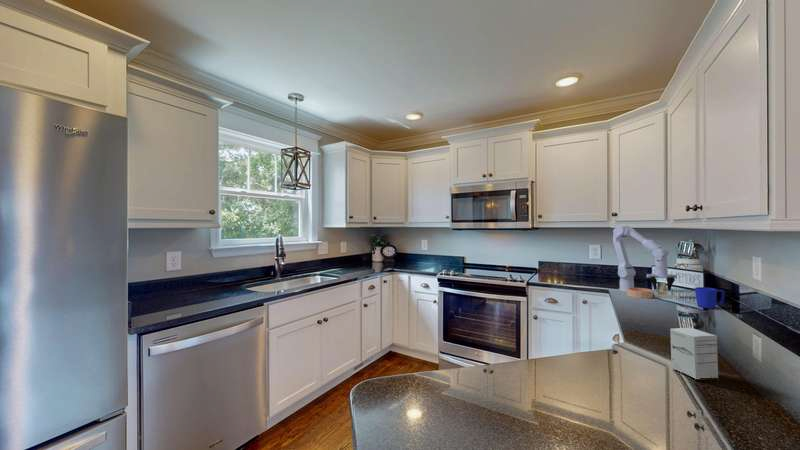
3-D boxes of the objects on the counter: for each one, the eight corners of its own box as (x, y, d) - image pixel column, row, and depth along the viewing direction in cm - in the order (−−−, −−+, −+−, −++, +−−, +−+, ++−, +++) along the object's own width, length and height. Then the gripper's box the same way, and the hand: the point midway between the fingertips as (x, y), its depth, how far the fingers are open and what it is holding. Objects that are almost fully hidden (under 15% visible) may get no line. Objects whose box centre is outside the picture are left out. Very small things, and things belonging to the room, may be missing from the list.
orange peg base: (624, 294, 196) (624, 287, 196) (648, 295, 191) (648, 288, 191) (631, 298, 184) (630, 291, 184) (657, 299, 179) (656, 292, 180)
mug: (731, 310, 155) (730, 290, 155) (703, 309, 157) (702, 289, 157) (718, 306, 163) (717, 287, 163) (691, 305, 165) (690, 287, 166)
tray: (646, 294, 195) (646, 290, 195) (670, 295, 190) (670, 291, 190) (654, 298, 183) (654, 294, 183) (679, 299, 179) (679, 295, 179)
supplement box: (670, 369, 93) (668, 328, 93) (692, 368, 93) (690, 326, 94) (695, 381, 85) (694, 336, 86) (719, 380, 86) (717, 334, 86)
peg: (657, 295, 189) (656, 282, 189) (665, 295, 188) (664, 282, 188) (659, 296, 186) (658, 283, 186) (667, 296, 184) (667, 283, 184)
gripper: (649, 268, 186) (650, 290, 186) (679, 268, 181) (680, 291, 181) (644, 266, 193) (645, 288, 192) (673, 267, 187) (674, 289, 187)
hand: (662, 289), depth 187 cm, fingers open, 6 cm apart
